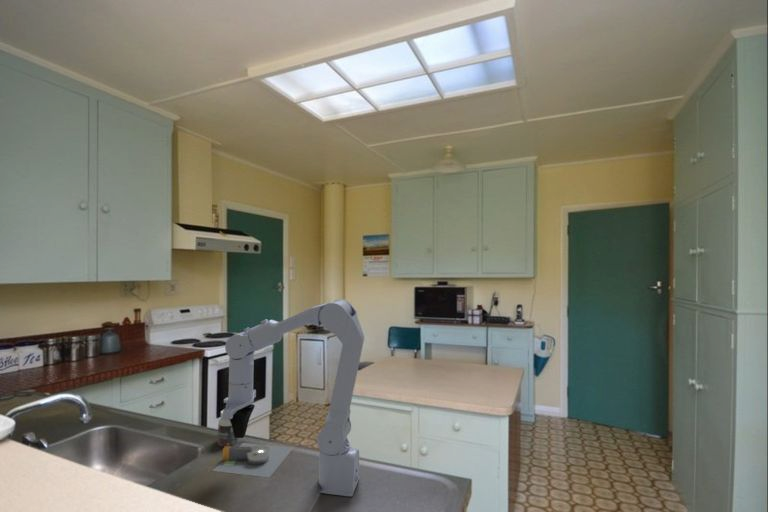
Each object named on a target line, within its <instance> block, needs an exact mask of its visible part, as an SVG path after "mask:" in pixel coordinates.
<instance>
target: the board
mask: <svg viewBox="0 0 768 512" xmlns="http://www.w3.org/2000/svg"><path fill="white" fill-rule="evenodd" d="M256 445H261V444H259V443H248V442H242V443H241V444H239V447H252V446H256ZM264 445H265V446H268V447H269V460H268V461H267V462H266V463H264V464H261V465H249V464H248V463H247V460H229V461H224V460H222V462H220V463H219V464H218V465H217V466H216V467H215V468H214V469H212V472H218V473H225V474H226V473H227V474H233V475H234V474H235V475H244V476H252V477H253V476H254V477H260V478H261V477H262V478H268V479H269V478H271V476H272V475H273V474H274V473H275V471H277V469H278V467H279V466H280V465H281V464H282V462H284V460H285V459H286V458H287V457H288V456H289V454H290V453H291V452H292V450H294V447H287V446H279V445H270V444H264Z"/></svg>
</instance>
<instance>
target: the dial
mask: <svg viewBox="0 0 768 512" xmlns="http://www.w3.org/2000/svg"><path fill="white" fill-rule="evenodd" d="M265 445H266V444H260V445H256V446H252V447H239V446H240V445H239V446H236V445H235V446H234V445H231V446H223V448H222V461H229V460H247V463H248V464H249V465H261V464H264V463H266V462H267V461H268V460H269V447H268V446H265Z"/></svg>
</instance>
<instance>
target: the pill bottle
mask: <svg viewBox="0 0 768 512" xmlns="http://www.w3.org/2000/svg"><path fill="white" fill-rule="evenodd" d="M223 410H224V409H222V410H221V411H220V419H219V420H218V426H217V427H218V428H217V445H218V446H219V447H220V446H221V447H225V446H234V445H236V444H238V443H239V441H240V438H235V437H234V433H233V428H232V425H231V422H230V420H229V419H223Z"/></svg>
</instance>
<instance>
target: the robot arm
mask: <svg viewBox="0 0 768 512" xmlns="http://www.w3.org/2000/svg"><path fill="white" fill-rule="evenodd" d="M310 324H311V325H313V326H317V327H319V326H321V325H322V327H324V328H325V329H326V330H327V331H329V332H330V333H332V334H333V335H335V336H336V338H337V339H338V340H339V342H340V343H341V344H342V346H341V350H340V351H341V352H340V357H339V361H338V366H337V370H336V375H335V380H334V386H333V390H332V394H331V398H330V399H331V400H330V404H329V409H328V411H327V415H326V416H325V417H326V418H325V420H324V424H323V427H322V429H321V430H320V432H318V436H317V438H316V439H317V446H318V448H319V451H318V452H319V455H318V456H319V457H318V484H319V485H320V486H321V487H320V490H319V491H318V494H319V493H320V494H326V495H332V496H333V495H335V496H336V495H337V496H343V497H350V498H351V497H353V496H354V493H355V491H356V487H357V485H358V483H359V481H360V476H359V475H360V450H359V449H358V448H354V447H352V446H351V444H350V441H349V439H348V435H349V434H350V432H351V431H352V430H351V429H352V422H351V418H350V416H351V404H352V401H353V396H354V390H355V387H356V385H355V384H356V380H357V377H358V376H357V375H358V371H359V366H360V362H361V361H360V360H361V357H362V352H363V351H362V350H363V347H364V342H365V335H364V331H363V328H362V326H361V324H360V321H359V318H358V313H357V310H356V309H355V307H353V305H352V304H351V303H350V302H349V301H348V300H346V299H344V298H343V299H342V298H340V299H339V298H338V299H335V300H334V301H332V302H330V301H329V302H326V303H322V304H319V305H315V306H311V307H309V308H307V309H304V310H303V311H300V312H298V313H296V314H294V315H292V316H290V317H287V318H285V319H282V320H281V321H277V320H274V319H269V320H268V319H267V318H266V319H263V320H262V321H260V324H257V325H255V326H253V327H251V328H250V327H248V326H247V327H246V328H244V329H243V331H241V332H239V333H237V334H233V335H232V336H230V337H229V338H228V339H227V340H226V342H225V346H224V349H225V352H226V354H227V355H228V357H229V358H228V359H229V360H228V362H229V363H228V364H229V365H228V393H227V394H228V395H227V397H225V398H224V399H223V403H224V404H225V407H224V409H222V410H223V419H229V420H230V422H231V425H232V428H233V433H234V437H235V438H239V439H243V438H244V437H245V436H246V432H247V430H248V425H249V421H250V418H251V415H252V413H253V411H254V409H255V407H256V406H255V404H253V403H254V401H255V398H256V397H257V390H256V389H254V368H255V367H254V366H255V361H254V360H255V358H254V357H255V356H254V355H255V352H259V351H260V350H262V349H265V348H267V347H270V346H272V345H274V344H277V343H279V342H281V341H282V339H283V336H284V334H287V333H289V332H292V331H294V330H296V329H299V328H302V327H304V326H307V325H310Z"/></svg>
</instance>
